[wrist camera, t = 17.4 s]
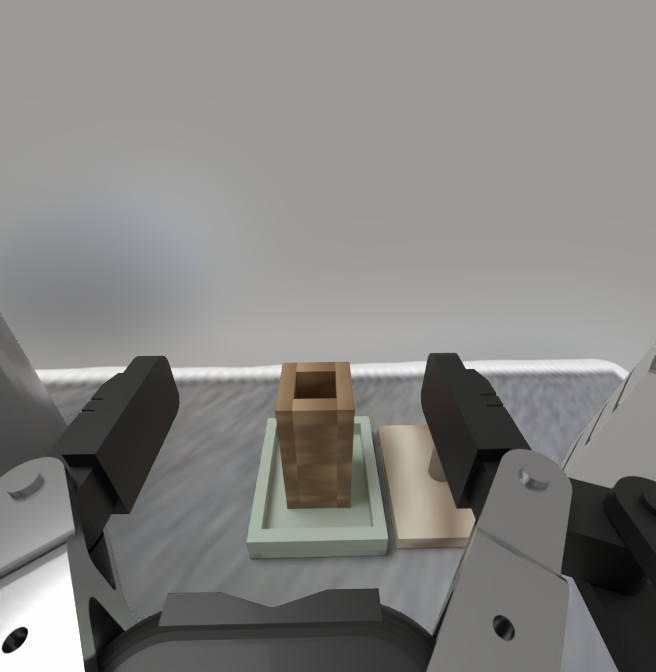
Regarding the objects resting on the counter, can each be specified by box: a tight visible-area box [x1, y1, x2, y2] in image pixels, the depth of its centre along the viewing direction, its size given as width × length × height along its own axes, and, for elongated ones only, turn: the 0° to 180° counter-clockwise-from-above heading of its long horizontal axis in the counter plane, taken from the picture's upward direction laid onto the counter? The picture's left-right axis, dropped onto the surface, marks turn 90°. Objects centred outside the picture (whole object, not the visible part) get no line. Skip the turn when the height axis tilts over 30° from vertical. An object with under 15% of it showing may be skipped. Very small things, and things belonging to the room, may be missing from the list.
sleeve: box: [275, 362, 355, 509], centre depth 30 cm, size 6×6×12 cm
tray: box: [246, 416, 388, 558], centre depth 33 cm, size 11×13×2 cm
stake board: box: [377, 425, 475, 548], centre depth 31 cm, size 10×12×8 cm
